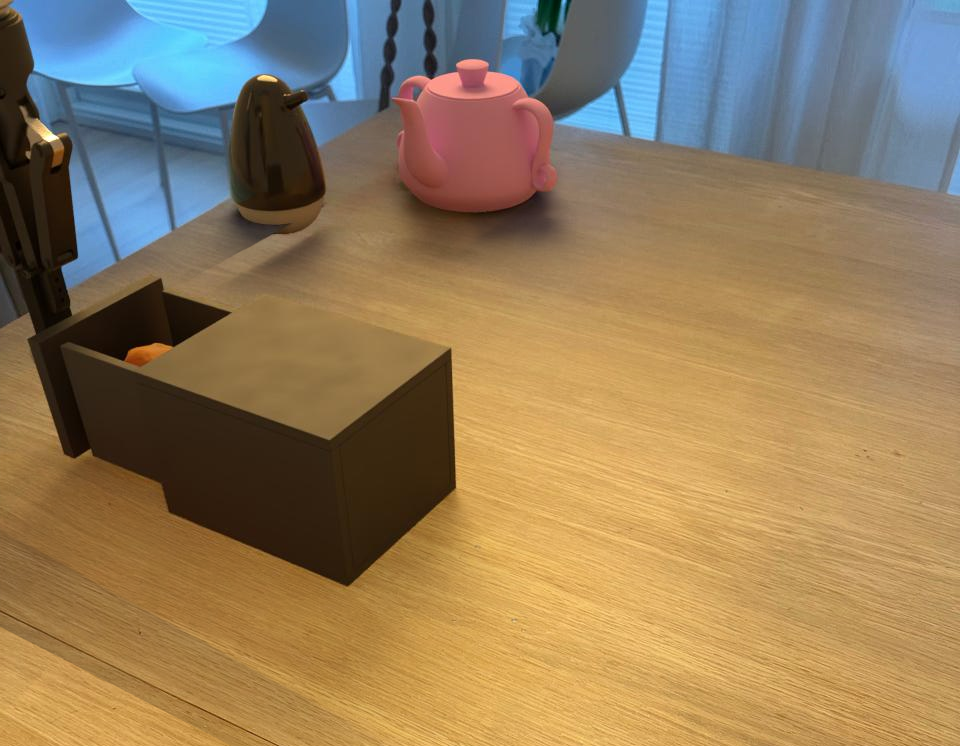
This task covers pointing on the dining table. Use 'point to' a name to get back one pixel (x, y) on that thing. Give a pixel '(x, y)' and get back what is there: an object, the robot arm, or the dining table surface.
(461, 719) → the dining table surface
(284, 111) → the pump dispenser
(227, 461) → the cabinet
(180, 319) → the drawer
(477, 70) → the teapot
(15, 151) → the robot arm
